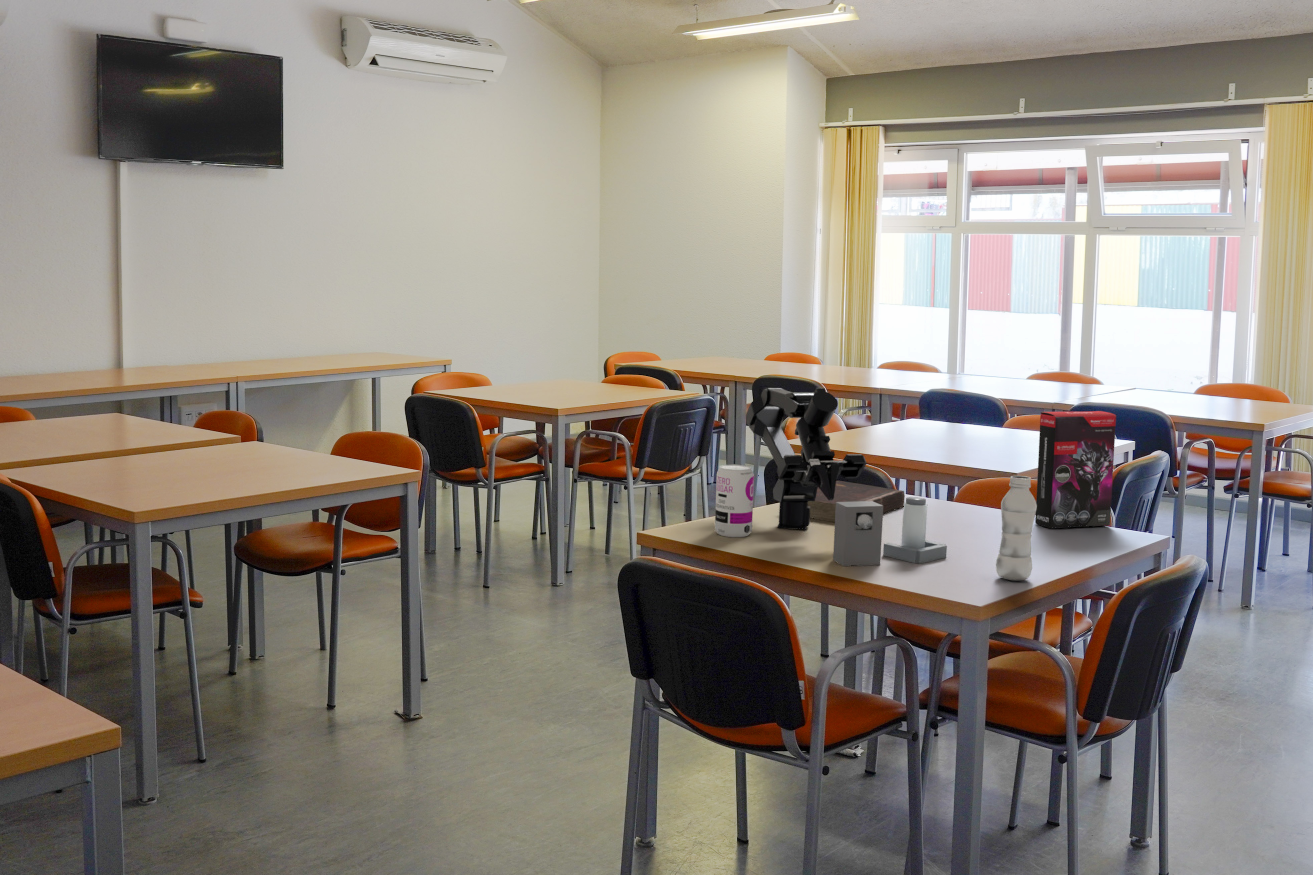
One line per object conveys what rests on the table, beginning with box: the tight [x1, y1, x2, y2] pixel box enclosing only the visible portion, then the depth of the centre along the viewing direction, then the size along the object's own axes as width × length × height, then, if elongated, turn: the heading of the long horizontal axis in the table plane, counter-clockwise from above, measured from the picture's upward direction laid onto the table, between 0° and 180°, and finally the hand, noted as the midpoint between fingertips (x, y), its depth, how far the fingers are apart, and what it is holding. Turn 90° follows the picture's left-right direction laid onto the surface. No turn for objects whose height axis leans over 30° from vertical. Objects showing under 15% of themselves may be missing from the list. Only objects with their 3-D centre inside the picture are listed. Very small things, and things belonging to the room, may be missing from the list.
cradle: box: [882, 539, 948, 564], centre depth 236 cm, size 9×10×2 cm
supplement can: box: [714, 464, 755, 538], centre depth 252 cm, size 8×8×15 cm
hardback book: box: [808, 480, 906, 523], centre depth 283 cm, size 29×19×5 cm, turn 144°
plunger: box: [856, 512, 873, 529], centre depth 229 cm, size 9×4×4 cm, turn 15°
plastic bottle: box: [995, 475, 1037, 582], centre depth 218 cm, size 6×7×20 cm
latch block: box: [832, 501, 884, 567], centre depth 229 cm, size 5×8×12 cm, turn 105°
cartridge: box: [900, 496, 928, 549], centre depth 236 cm, size 5×5×12 cm
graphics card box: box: [1034, 410, 1117, 529], centre depth 270 cm, size 17×7×27 cm, turn 107°
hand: (831, 499), depth 241 cm, fingers closed
